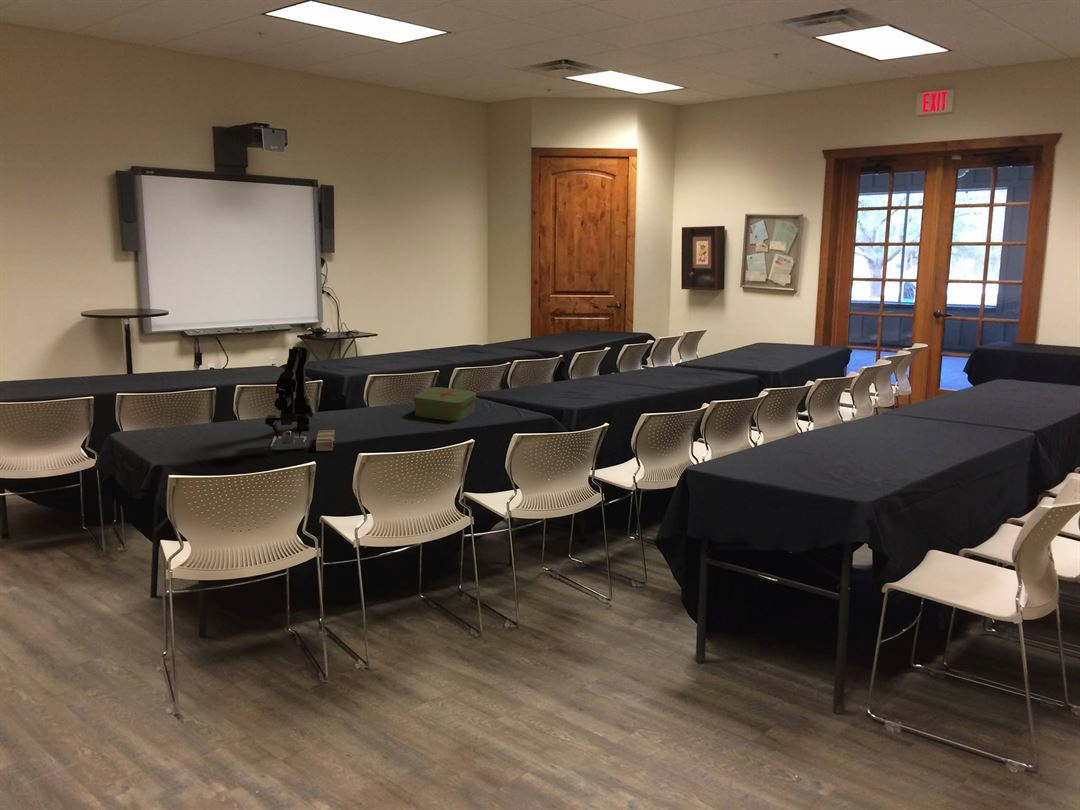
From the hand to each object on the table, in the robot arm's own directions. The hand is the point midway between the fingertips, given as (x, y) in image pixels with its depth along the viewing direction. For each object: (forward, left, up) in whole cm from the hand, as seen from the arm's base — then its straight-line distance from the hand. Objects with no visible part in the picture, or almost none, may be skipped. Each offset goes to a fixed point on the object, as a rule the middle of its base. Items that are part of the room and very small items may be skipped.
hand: (288, 438), depth 391 cm
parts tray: (0, 0, -3) cm, 3 cm away
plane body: (0, +16, -3) cm, 16 cm away
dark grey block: (0, 0, -2) cm, 3 cm away
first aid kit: (-53, +73, -4) cm, 90 cm away
